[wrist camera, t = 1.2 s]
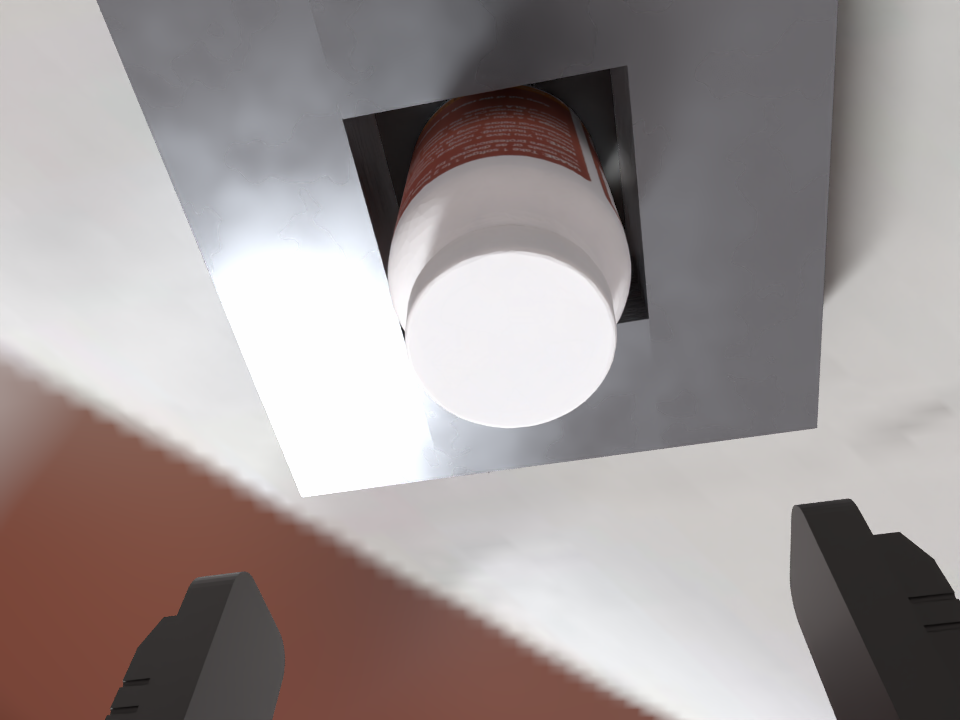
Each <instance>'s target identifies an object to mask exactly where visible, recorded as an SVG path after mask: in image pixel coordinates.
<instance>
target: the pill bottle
mask: <svg viewBox="0 0 960 720" xmlns="http://www.w3.org/2000/svg"><path fill="white" fill-rule="evenodd" d="M630 281H631V260H630V253H629V247H628V244H627V240H626V235H625V232H624V229H623V226H622V223H621V220H620V218H619V215H618V212H617V209H616V206H615V203H614V200H613V197H612V195H611V191H610V188H609V186H608V183H607V180H606V177H605V174H604V171H603V169H602V166H601V163H600V160H599V157H598V155H597V152H596V149H595V147H594V144H593V142H592V139H591V137H590V135H589V133H588V131H587V129H586V128H585V126H584V124H583V123H582V121H581V120H580V119H579V117H578V116H577V115H576V114H575V113H574V112H573V111H572V109H571V108H570V107H569V106H567V105H566V104H565V103H564V102H562V101H561V100H560V99H558V98H557V97H555V96H553V95H552V94H550V93H548V92H546V91H543V90H541V89H538V88H536V87H532V86H529V85H521V86H516V87H510V88H505V89H500V90H494V91H489V92H484V93H479V94H473V95H468V96H463V97H458V98H452V99H450V100H448V101H447V102H446V103H444V104H443V105H442V106H441V107H440V108H439V109H438V110H437V111H436V112H435V113H434V114H433V115H432V116H431V118H430V119H429V120H428V122H427V123H426V125H425V126H424V128H423V130H422V132H421V134H420V136H419V138H418V140H417V142H416V145H415V148H414V151H413V155H412V159H411V163H410V167H409V172H408V176H407V180H406V184H405V188H404V193H403V197H402V201H401V205H400V209H399V213H398V217H397V222H396V225H395V230H394V234H393V238H392V243H391V248H390V255H389V261H388V287H389V293H390V297H391V301H392V305H393V308H394V311H395V313H396V316H397V318H398V320H399V322H400V324H401V326H402V328H403V329H404V331H405V347H406V353H407V358H408V361H409V364H410V367H411V369H412V372H413V373H414V375H415V377H416V379H417V381H418V383H419V384H420V385H421V387H422V388H423V389H424V391H425V392H426V393H427V394H428V395H429V396H430V397H431V398H432V399H433V400H434V401H435V402H436V403H437V404H439V405H440V406H441V407H443V408H444V409H446V410H447V411H448V412H451V413H453V414H454V415H456V416H458V417H460V418H462V419H465V420H468V421H470V422H473V423H477V424H481V425H486V426H491V427H500V428H518V427H528V426H534V425H538V424H542V423H545V422H549V421H551V420H554V419H556V418H559V417H561V416H563V415H565V414H567V413H569V412H570V411H572V410H574V409H575V408H576V407H578V406H579V405H581V404H582V403H583V402H585V401H586V400H587V399H588V398H589V397H590V396H591V395H592V394H593V393H594V392H595V391H596V390H597V388H598V387H599V386H600V384H601V383H602V381H603V380H604V379H605V377H606V375H607V373H608V371H609V369H610V367H611V364H612V362H613V358H614V354H615V349H616V343H617V326H616V324H617V322H618V321H619V319H620V317H621V315H622V312H623V310H624V307H625V304H626V301H627V297H628V294H629V288H630Z"/></svg>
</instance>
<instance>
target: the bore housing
mask: <svg viewBox="0 0 960 720" xmlns="http://www.w3.org/2000/svg"><path fill="white" fill-rule="evenodd" d="M97 3H98V5H99V7H100V10H101V12H102V15H103V17H104V19H105V22H106V24H107V27H108V29H109V32H110V34H111V36H112V39H113V41H114V44H115V46H116V49H117V51H118V53H119V56H120V58H121V61H122V63H123V65H124V68H125V70H126V73H127V75H128V78H129V80H130V82H131V85H132V87H133V90H134V92H135V94H136V97H137V99H138V102H139V104H140V107H141V109H142V111H143V114H144V116H145V119H146V121H147V123H148V126H149V128H150V131H151V133H152V136H153V138H154V140H155V143H156V145H157V148H158V150H159V152H160V155H161V157H162V160H163V162H164V165H165V167H166V169H167V172H168V174H169V177H170V179H171V182H172V184H173V186H174V189H175V191H176V194H177V196H178V198H179V201H180V203H181V206H182V208H183V211H184V213H185V215H186V218H187V220H188V223H189V225H190V227H191V230H192V232H193V235H194V237H195V240H196V242H197V244H198V247H199V249H200V252H201V254H202V256H203V259H204V261H205V264H206V266H207V269H208V271H209V273H210V276H211V278H212V281H213V283H214V285H215V288H216V290H217V293H218V295H219V298H220V300H221V302H222V305H223V307H224V310H225V312H226V315H227V317H228V319H229V322H230V324H231V327H232V329H233V331H234V334H235V336H236V339H237V341H238V344H239V346H240V348H241V351H242V353H243V356H244V358H245V360H246V363H247V365H248V368H249V370H250V373H251V375H252V377H253V380H254V382H255V385H256V387H257V389H258V392H259V394H260V397H261V399H262V402H263V404H264V406H265V409H266V411H267V414H268V416H269V418H270V421H271V423H272V426H273V428H274V431H275V433H276V435H277V438H278V440H279V443H280V445H281V448H282V450H283V452H284V455H285V457H286V460H287V462H288V464H289V467H290V469H291V472H292V474H293V477H294V479H295V481H296V484H297V486H298V489H299V491H300V493H301V496H302V497H305V496H313V495H320V494H328V493H335V492H343V491H350V490H358V489H365V488H373V487H380V486H388V485H395V484H403V483H410V482H417V481H425V480H432V479H440V478H447V477H455V476H462V475H470V474H477V473H485V472H492V471H500V470H507V469H515V468H522V467H530V466H537V465H544V464H552V463H559V462H567V461H574V460H582V459H589V458H597V457H604V456H612V455H619V454H627V453H634V452H642V451H649V450H657V449H664V448H671V447H679V446H686V445H694V444H701V443H709V442H716V441H724V440H731V439H739V438H746V437H754V436H761V435H769V434H776V433H784V432H791V431H798V430H806V429H813V428H817V417H818V397H819V376H820V356H821V336H822V316H823V296H824V276H825V256H826V235H827V215H828V195H829V175H830V155H831V135H832V114H833V94H834V74H835V54H836V34H837V14H838V0H97ZM605 69H610V72H611V82H612V92H613V103H614V113H615V123H616V134H617V144H618V154H619V165H620V175H621V185H622V196H623V206H624V216H625V227H626V237H627V244H628V247H629V253H630V260H631V281H630V288H629V294H628V297H627V301H626V304H625V307H624V310H623V312H622V315H621V317H620V319H619V321H618V322H617V324H616V326H617V343H616V349H615V354H614V358H613V362H612V364H611V367H610V369H609V371H608V373H607V375H606V377H605V379H604V380H603V381H602V383H601V384H600V386H599V387H598V388H597V390H596V391H595V392H594V393H593V394H592V395H591V396H590V397H589V398H588V399H587V400H586V401H585V402H583V403H582V404H581V405H579V406H578V407H576V408H575V409H574V410H572V411H570V412H569V413H567V414H565V415H563V416H561V417H559V418H556V419H554V420H551V421H549V422H545V423H542V424H538V425H534V426H528V427H518V428H500V427H491V426H486V425H481V424H477V423H473V422H470V421H468V420H465V419H462V418H460V417H458V416H456V415H454V414H453V413H451V412H448V411H447V410H446V409H444V408H443V407H441V406H440V405H439V404H437V403H436V402H435V401H434V400H433V399H432V398H431V397H430V396H429V395H428V394H427V393H426V392H425V391H424V389H423V388H422V387H421V385H420V384H419V383H418V381H417V379H416V377H415V375H414V373H413V372H412V369H411V367H410V364H409V361H408V358H407V353H406V347H405V331H404V329H403V328H402V326H401V324H400V322H399V320H398V318H397V316H396V313H395V311H394V308H393V305H392V301H391V297H390V293H389V287H388V261H389V255H390V248H391V243H392V238H393V234H394V230H395V225H396V222H397V217H398V213H399V207H398V203H397V199H396V195H395V191H394V188H393V184H392V180H391V176H390V172H389V168H388V164H387V161H386V157H385V153H384V149H383V145H382V141H381V137H380V133H379V130H378V126H377V122H376V118H375V114H374V113H378V112H384V111H389V110H394V109H400V108H405V107H410V106H415V105H421V104H426V103H431V102H436V101H442V100H447V99H452V98H458V97H463V96H468V95H473V94H479V93H484V92H489V91H494V90H500V89H505V88H510V87H516V86H521V85H526V84H531V83H537V82H542V81H547V80H553V79H558V78H563V77H568V76H574V75H579V74H584V73H589V72H595V71H600V70H605Z"/></svg>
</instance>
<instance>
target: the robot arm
mask: <svg viewBox="0 0 960 720" xmlns="http://www.w3.org/2000/svg"><path fill="white" fill-rule="evenodd" d="M790 588H791V595H792V600H793V605H794V609H795V613H796V616H797V619H798V622H799V625H800V628H801V630H802V633H803V635H804V638H805V640H806V643H807V645H808V648H809V650H810V653H811V655H812V658H813V661H814V663H815V666H816V668H817V671H818V673H819V676H820V678H821V681H822V683H823V686H824V688H825V691H826V693H827V696H828V698H829V701H830V704H831V706H832V709H833V711H834V714H835V716H836V719H837V720H960V600H959V599H956V598H955V594H954V593H955V592H954V591H953V589H952V588H951V586H950V584H949V583H948V581H947V580H946V578H945V576H944V575H943V573H942V572H941V570H940V568H939V567H938V565H937V564H936V562H935V560H934V559H933V558H932V557H931V556H929V555H928V554H927V553H926V552H924V551H923V550H922V549H920V548H919V547H918V546H917V545H915V544H914V543H913V542H912V541H910V540H909V539H908V538H907V537H905V536H904V535H903V534H901V533H900V532H895V533H886V534H878V535H873V534H872V532H871V530H870V529H869V527H868V525H867V523H866V521H865V520H864V518H863V516H862V514H861V512H860V511H859V509H858V507H857V506H856V504H855V503H854V502H853V501H852V500H851V499H841V500H833V501H825V502H817V503H809V504H801V505H794V506H793V509H792V516H791V552H790ZM284 666H285V654H284V645H283V641H282V637H281V635H280V632H279V630H278V628H277V627H276V624H275V622H274V620H273V618H272V616H271V614H270V612H269V610H268V608H267V606H266V604H265V602H264V600H263V597H262V595H261V593H260V591H259V589H258V587H257V585H256V583H255V581H254V579H253V578H252V576H251V575H250V574H249V573H247V572H237V573H230V574H221V575H213V576H205V577H198V578H196V579H195V580H194V581H193V582H192V583H191V584H190V586H189V588H188V591H187V593H186V595H185V598H184V600H183V602H182V605H181V607H180V609H179V612H178V614H177V616H169V617H164V618H163V619H162V620H161V621H160V622H159V623H158V625H157V626H156V627H155V628H154V629H153V630H152V632H151V633H150V634H149V635H148V636H147V638H146V639H145V640H144V641H143V642H142V643H141V644H140V646H139V647H138V648H137V651H136V653H135V655H134V657H133V659H132V662H131V664H130V666H129V668H128V670H127V673H126V675H125V677H124V679H123V687H121V688H119V690H118V692H117V695H116V697H115V699H114V701H113V703H112V706H111V708H110V709H111V714H110V715H107V717H106V719H105V720H272V718H273V714H274V710H275V706H276V702H277V699H278V695H279V691H280V687H281V683H282V680H283V675H284Z"/></svg>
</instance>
